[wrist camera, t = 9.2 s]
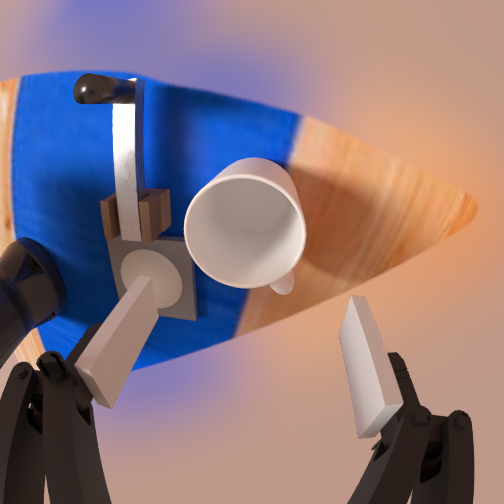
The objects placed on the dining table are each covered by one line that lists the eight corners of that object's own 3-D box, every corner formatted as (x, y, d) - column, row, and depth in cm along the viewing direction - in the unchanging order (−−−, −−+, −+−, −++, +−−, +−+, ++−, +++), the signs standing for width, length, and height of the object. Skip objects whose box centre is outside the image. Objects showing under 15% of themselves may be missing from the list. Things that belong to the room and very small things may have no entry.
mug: (321, 245, 29) (339, 303, 20) (253, 272, 31) (243, 335, 22) (274, 142, 25) (273, 151, 15) (200, 179, 27) (161, 209, 18)
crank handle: (129, 233, 28) (90, 268, 21) (123, 83, 20) (74, 77, 13) (148, 234, 27) (112, 271, 20) (144, 80, 20) (98, 70, 13)
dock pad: (125, 303, 35) (121, 309, 34) (110, 231, 30) (105, 236, 29) (198, 315, 35) (195, 321, 34) (193, 237, 30) (190, 242, 29)
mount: (125, 221, 30) (103, 238, 25) (122, 188, 28) (98, 201, 23) (171, 223, 29) (153, 242, 25) (169, 188, 27) (150, 202, 23)
